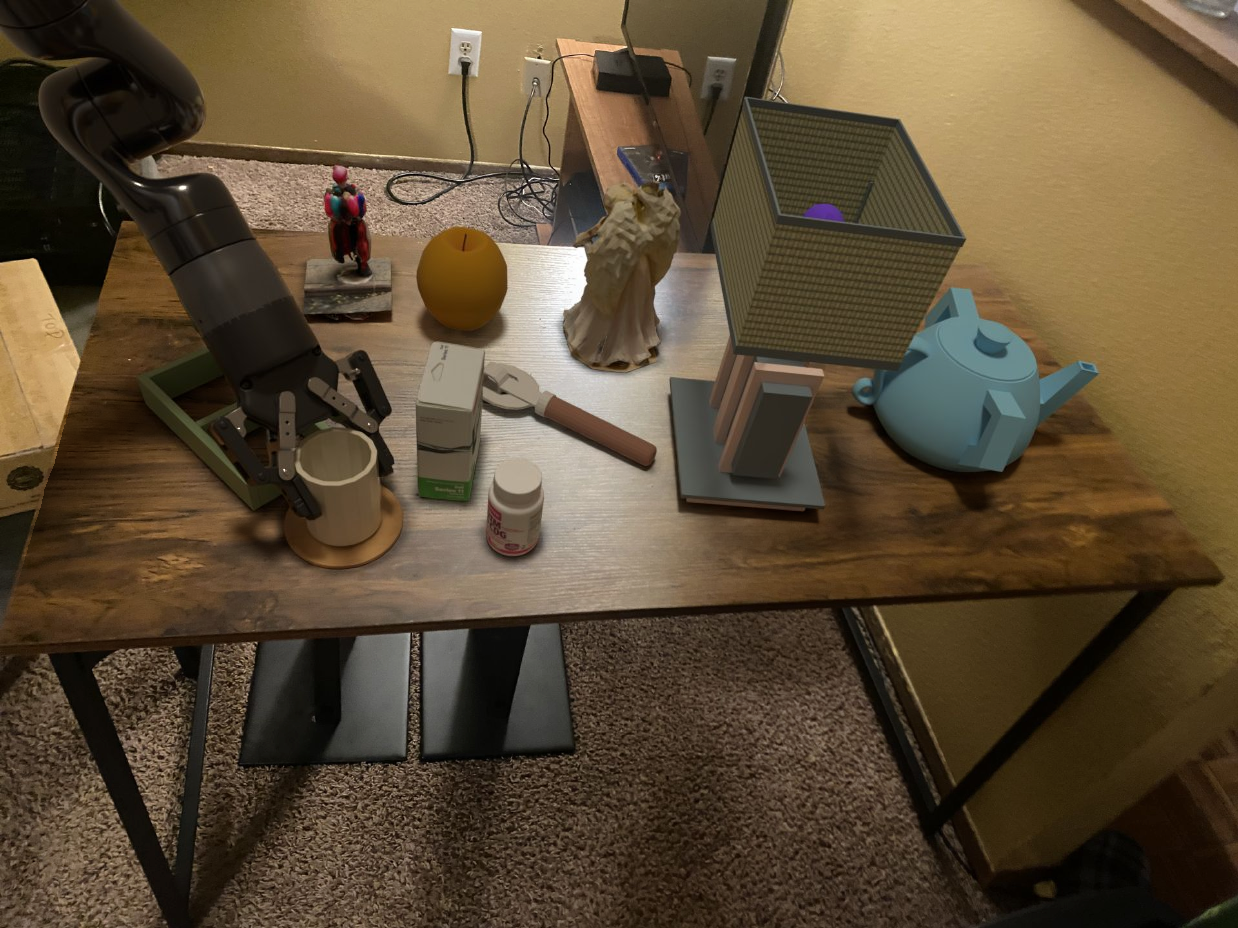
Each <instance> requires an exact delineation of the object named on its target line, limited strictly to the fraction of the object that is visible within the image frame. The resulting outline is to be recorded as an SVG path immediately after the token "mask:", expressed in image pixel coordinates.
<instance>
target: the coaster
mask: <svg viewBox="0 0 1238 928" xmlns="http://www.w3.org/2000/svg"><path fill="white" fill-rule="evenodd" d="M380 488H381V499H382V520H381V523H380V525H379V527H378V529H377V530H376V531H375V532H374V533H373V534H372V535H371V536H370V537H369V538H367V539H366V540H364V541H362V542H359V543H357V544H353V545H348V546H333V545H328V544H325V543H322V542H320V541H319V540H317V539H316V538H314V537H313V536H312V535H311V533H310V532H309V530H308V528H307V525H306V521H305V519H304V517H298V516H297V515H296V514H294V512H293V511H292V509H291V507H290V506H289V507H288V509H287V511H286V513H285V516H284V522H283V532H284V537H285V539H286V542H287V544H288V546H289V547H290V549H291V550H292V551H293V552H294V553H295V554H296V556H298V557H299V558H300V559H302V560H304V561H305V562H307V563H309V564H312V565H315V566H317V567H320V568H326V569H334V570H335V569H338V570H339V569H340V570H341V569H352V568H356V567H360V566H364V565H366V564H369V563H371V562H373V561H375V560H378V559H379V558H380V557H382V556H383V555H385V554H386V553H387V552H388V551H390V549H391V548H392V547H393V546H394V545H395V544H396V542H397V541H398V539H399V537H400V535H401V533H402V531H403V530H402V529H403V524H404V513H403V512H404V511H403V508H402V506H401V503H400V501H399V500H398V498H397V497H396V496H395V494H394V492H392V491H390V489H389V488H387V487H386V486H384V485H382V484H380Z"/></svg>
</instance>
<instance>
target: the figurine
mask: <svg viewBox="0 0 1238 928" xmlns="http://www.w3.org/2000/svg"><path fill="white" fill-rule="evenodd" d="M660 185H661V182H659V180H654V181H648V182H644V183H642V184H641V185H640V186H639V187H638V188H635V187H634V185H632V183H630V182H623V181H618V182H616V183H615V184H613V185H611V186H608V187H607V188H606V192H605V194H604V197H603V198H602V202H603V207H604V209H605V210H606V211H607V214H606V215H605V216H602V217H601V218H600V219H599V221H598V222H597V224H595V225H594V226H592V227H590V228H589V229H588V230H586V231H582V232H580V233H578V234H577V236H576V238H575V240H574V242H573V245H572V247H573V248H575V249H578V248H580V247H581V248H582V247H583V249H584V253H585V257H586V263H585V266H584V268H583V276H584V277H585V282H586V285H585V286H584V288H583V293H582V295H581V297H580V300H579V301H578V302H576V303H574V305H572V307H570V308H569V309H563V313H562V316H563V318H564V322H563V324H562V327H563V330H564V334H565V337H566V341H567V342H566V344H567V346H568V348H569V351H570V353H571V356H573V358H575V359H577V360H578V361H580V362H581V363H583V364H584V365H586V366H587V367H589V368H590V369H592V370H599V371H606V372H614V373H615V372H616V373H624V374H625V373H629V372H631V371H634V370H637V369H640V368H642V367H645V366H647V365H650V364H653V363H655V362H656V363H657V362H658V358H657V354H656V352H655V351H656V350H655V348H654V347H656V346H658V345H659V344H661V339H660V337H659V335H658V333H657V330H656V329H657V327H658V326H659V325H660V324H661V320H660V318H659V317H658V315H657V312H656V308H655V298H656V294H657V293H656V287H657V285H658V284H659V283H660V282H661V281H663V279H664V278H665V276H666V274H667V273H668V272H669V270H670V269H671V267H672V262H673V259H674V256H675V254H676V253H677V250H678V246H679V244H680V240H681V239H680V234H679V233H680V231H681V224H680V222H679V221H680V220H679V218H680V217H681V214H682V213H681V212H682V211H681V208H680V207H679V205H678V204H677V203H676V202H675V199H674V196H673V194H672V193H671V192H670V191H669V189H668V186H667V185H664V189H663V188H662V187H661V186H660ZM594 238H596V240H595V241H593V239H594ZM618 361H619V362H618Z"/></svg>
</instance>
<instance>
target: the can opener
mask: <svg viewBox="0 0 1238 928" xmlns="http://www.w3.org/2000/svg"><path fill="white" fill-rule="evenodd" d="M540 391H541V389H540V385H539V383H538V382H537V381H536V379H535V377H533V376H532V375H531V374H529V373H528V372H527V371H525V370H523V369H521V368H518V367H516V366H515V365H511V364H506V363H501V362H500V363H499V362H496V361H490V362H488V363H486V365H484V379H483V398H482V400H484V401H486V402H487V403H489V404H491V405H492V406H494V407H498V408H502V409H504V410H505V409H506V410H516V411H517V410H519V411H520V410H523V409H527V408H530V407H534V413H535V414H537V415H539V416H540V417H543V418H548V419H550V420H552V421H553V422H556V423H557V424H560V425H562V426H563V427H565V428H567V429H570V430H572V431H573V432H575V433H578V434H580V435H582V436H584V437H586V438H587V439H590V440H592V441H593V442H595V443H597V444H599V445H601V446H604V447H606V448H607V449H610V450H611V451H614V452H615V453H618V454H620V455H622V456H624V457H626V458H628V459H630V460H632V461H633V462H636V463H638V464H640V465H642V466H645V467H647V466H649V465H650V466H651V464H652V463H653V461H654V460H655V457H656V455H657V450H658V449H657V446H656V445H655V444H653V443H651V442H649V441H647V440H645V439H643V438H640V437H639V436H637V435H634V434H633V433H630V432H629V431H627V430H624V429H623V428H621V427H619V426H617V425H615V424H613V423H611V422H608V421H607V420H605V419H602V418H600V417H599V416H596V415H595V414H593V413H590V412H588V411H586V410H584V409H582V408H580V407H578V406H576V405H574V404H572V403H570V402H568V401H566V400H564V399H562V398H559V397H557V395H556V394H554V393H552V392H550V391H549V390H544V391H543V392H540ZM502 393H506V394H502Z"/></svg>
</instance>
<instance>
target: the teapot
mask: <svg viewBox="0 0 1238 928" xmlns="http://www.w3.org/2000/svg"><path fill="white" fill-rule="evenodd" d="M901 362H902V364H901V366H900V367H899V369H898V371H890V370H881V369H873V376H872V378H869V377H862V378H859V379H858V380H856V381H855V383H854V384H853V386H852V389H851V394H852V397H853V399H854V400H855V401H856V402H857V403H860V404H861V405H864V406H870V405H873V408H874V411H875V414H876V416H877V418H878V420H879V422H880V424H881V426H882V427H883V429H884V431H885V432H886V434H887V435H888V437H889V438H890V439H891V440H892V441H893V442H894V443H895V444H896V445H897V446H898V447H899V448H900V449H902V450H903V451H905V453H907V454H909V455H910V456H912V457H913V458H915V459H917V460H918V461H921V462H923V463H924V464H925V463H926V464H927V465H930V466H933V467H935V468H937V469H942V470H946V471H950V472H956V473H957V472H959V473H978V472H986V471H987V472H988V471H995V472H1001V473H1002V472H1004V470H1005V467H1006V466H1008V465H1010V464H1012V463H1013V462H1015V461H1017V460H1018V459H1019V458H1020V457H1021V456H1022V455H1023V454H1024V453H1025V451H1026V449H1027V448H1028V446H1029V444H1030V443H1031V441H1032V439H1033V436H1034V435H1035V431H1036V429H1037V428H1038V427H1039V426H1041V424H1043V423H1044V422H1045V421H1046V420H1048V419H1049V418H1050V417H1051V416H1052V415H1053V414H1054V413H1055V412H1057V410H1059V409H1060V408H1061V407H1062V406H1064V405H1065V404H1066V403H1067V402H1068V401H1070V400H1071V399H1072V398H1073V397H1074V396H1075V395H1076V394H1077V393H1079V392H1080V391H1081V390H1082V389H1083V388H1085V387H1086V386H1087V385H1088V384H1090V383H1091V381H1093V380H1094V379H1095V378H1096V377H1097V376H1098V375H1100V371H1099V370H1098V367H1097V366H1096V364H1095V363H1092V362H1087V361H1083V360H1076V362H1074V363H1072V364H1069V365H1067V366H1065V367H1063V368H1061V369H1058V370H1057V371H1055V372H1053V373H1051V374H1048V375H1047V376H1043V377H1042V378H1040V372H1039V368H1038V363H1037V359H1036V357H1035V354H1034V353H1033V351H1032V349H1031V348H1030V347H1029V345H1028V344H1027V343H1026V341H1024V340H1023V338H1021V337H1020V336H1019V335H1018V334H1016V333H1015V332H1013V331H1012V330H1011V329H1009V328H1008V327H1007V326H1005V325H1004V324H1002V323H1000V322H997V321H995V320H988V319H984V318H981V317H980V316H979V312H978V309H977V305H976V303H975V298H974V296H973V292H972V290H971V289H970V288H961V287H955V286H950V287H949V288H948V289H947V290H946V292H945V293H944V294H943V295H942V296H941V298H940V299H939V300H938V301H937V303H935V304H934V306H933V307H932V308H931V309H930V310H929V312H928V313H926V315H925V317H924V329H922V330H920V331H919V332H916V334H915V336H914V338H913V340H912V342H911V344H910V346H909V348H908V349H907V351H906V353H905V355H904V357H903V359H902V361H901ZM866 388H869V389H866ZM864 389H866V390H864Z"/></svg>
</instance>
